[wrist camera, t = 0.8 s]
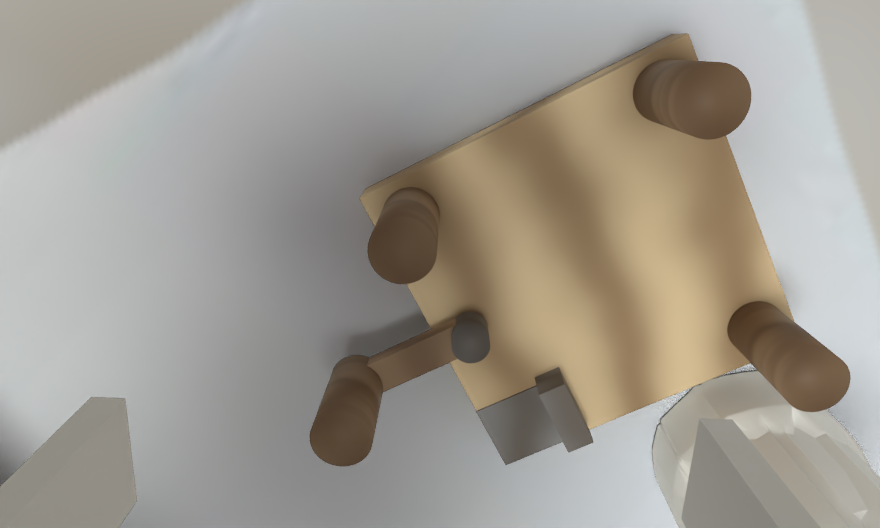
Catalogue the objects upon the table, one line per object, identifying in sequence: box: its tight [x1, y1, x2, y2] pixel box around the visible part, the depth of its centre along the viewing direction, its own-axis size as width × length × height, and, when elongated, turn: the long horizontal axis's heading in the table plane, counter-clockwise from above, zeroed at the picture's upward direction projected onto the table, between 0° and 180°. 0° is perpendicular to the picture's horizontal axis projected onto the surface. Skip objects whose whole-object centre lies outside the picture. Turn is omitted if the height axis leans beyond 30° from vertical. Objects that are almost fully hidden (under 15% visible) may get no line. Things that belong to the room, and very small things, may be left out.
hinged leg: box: [310, 312, 490, 466], centre depth 34 cm, size 10×3×6 cm, turn 117°
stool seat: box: [359, 34, 850, 465], centre depth 33 cm, size 18×18×9 cm
